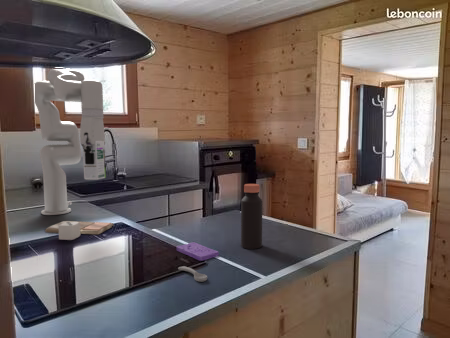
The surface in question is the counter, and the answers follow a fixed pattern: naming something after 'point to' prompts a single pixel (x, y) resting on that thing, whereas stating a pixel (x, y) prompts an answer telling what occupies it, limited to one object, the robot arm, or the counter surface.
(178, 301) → the counter surface
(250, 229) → the bottle
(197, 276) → the spoon
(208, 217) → the counter surface
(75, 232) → the grey cube
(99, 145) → the syrup box
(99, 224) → the board
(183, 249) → the sponges
